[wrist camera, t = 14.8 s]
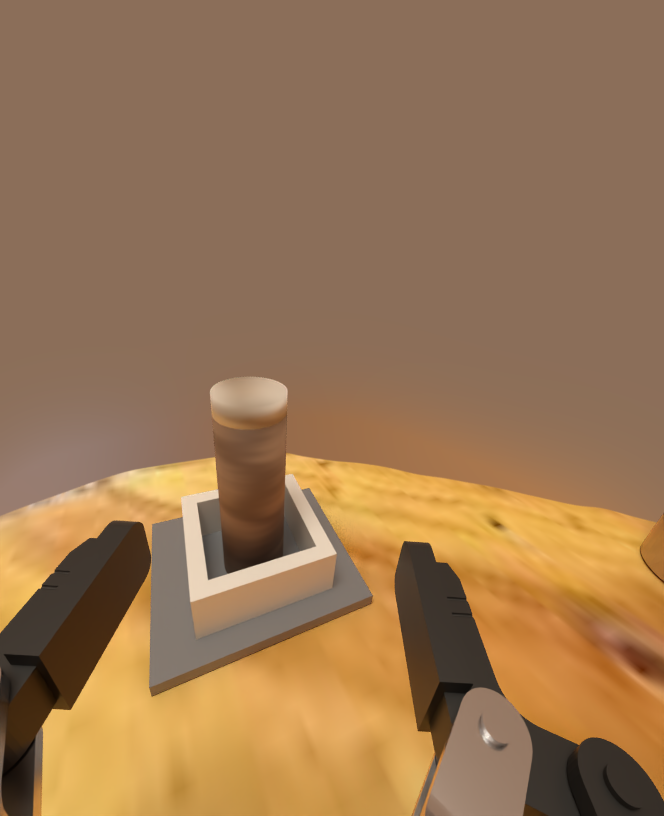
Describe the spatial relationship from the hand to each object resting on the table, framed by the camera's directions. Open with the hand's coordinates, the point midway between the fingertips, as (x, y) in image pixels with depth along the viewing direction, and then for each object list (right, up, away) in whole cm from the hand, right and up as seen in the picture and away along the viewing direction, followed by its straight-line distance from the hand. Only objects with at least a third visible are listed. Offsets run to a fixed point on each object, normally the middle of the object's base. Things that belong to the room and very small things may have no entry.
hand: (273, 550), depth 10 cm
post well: (-5, -10, +19) cm, 22 cm away
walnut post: (-5, -9, +19) cm, 21 cm away
